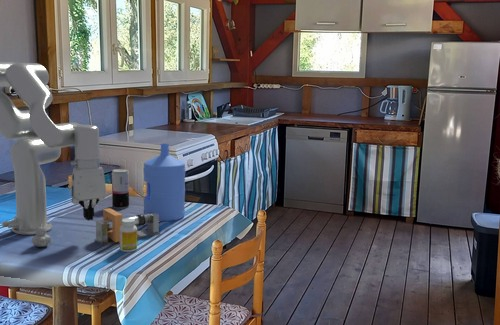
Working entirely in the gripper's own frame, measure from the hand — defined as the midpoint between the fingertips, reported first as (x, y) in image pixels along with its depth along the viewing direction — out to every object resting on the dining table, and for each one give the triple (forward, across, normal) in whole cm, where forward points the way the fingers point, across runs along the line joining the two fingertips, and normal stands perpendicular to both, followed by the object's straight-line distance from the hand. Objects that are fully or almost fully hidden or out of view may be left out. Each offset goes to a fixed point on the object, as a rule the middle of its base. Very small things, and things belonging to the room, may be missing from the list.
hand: (88, 219), depth 171 cm
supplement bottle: (+7, +7, -15) cm, 18 cm away
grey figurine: (+7, -15, +2) cm, 17 cm away
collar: (+7, +6, -4) cm, 10 cm away
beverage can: (+7, +26, +32) cm, 42 cm away
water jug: (+7, +34, +11) cm, 37 cm away
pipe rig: (+7, +12, -4) cm, 14 cm away
